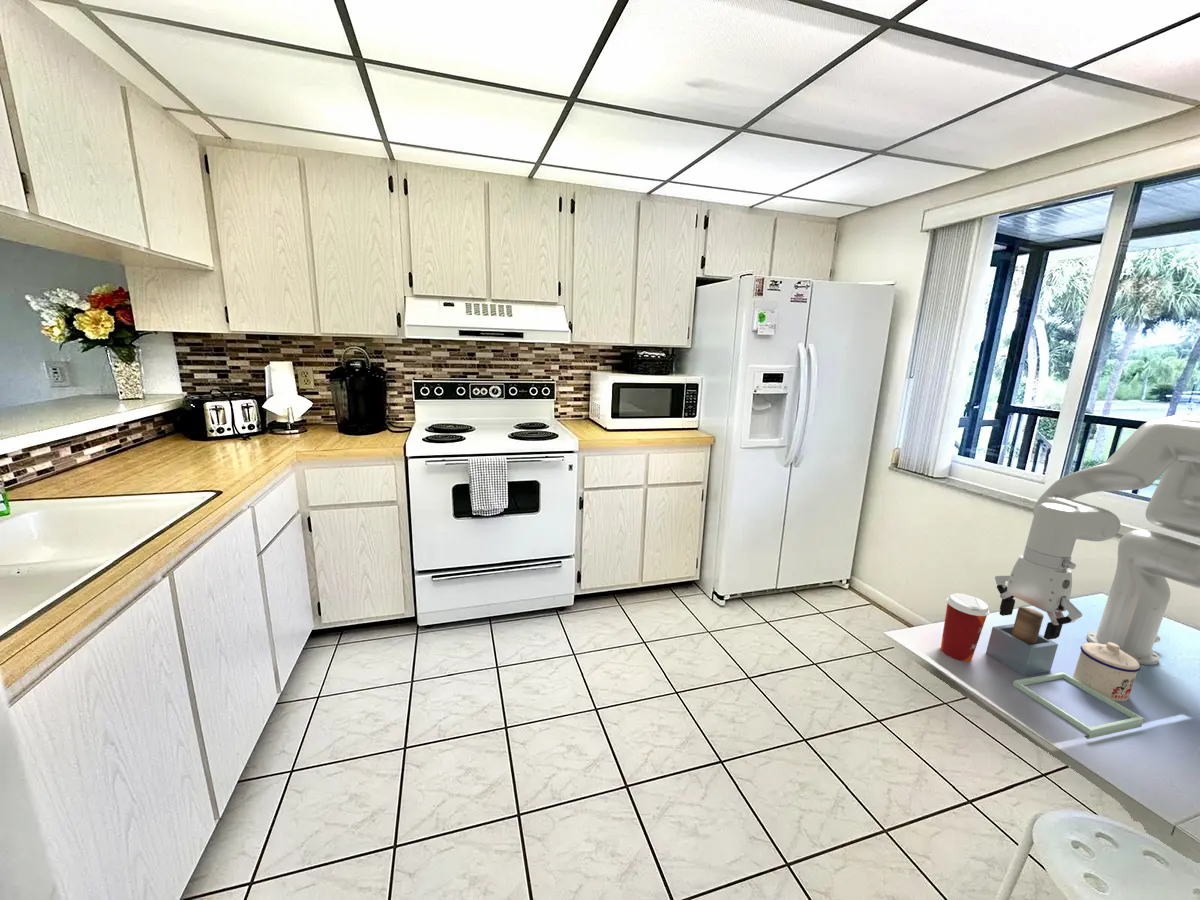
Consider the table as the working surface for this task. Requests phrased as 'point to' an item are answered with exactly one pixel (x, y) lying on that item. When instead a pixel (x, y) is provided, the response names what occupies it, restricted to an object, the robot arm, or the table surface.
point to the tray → (1092, 731)
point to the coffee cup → (963, 626)
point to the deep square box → (1021, 651)
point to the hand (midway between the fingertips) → (1026, 625)
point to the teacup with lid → (1107, 670)
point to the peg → (1027, 625)
